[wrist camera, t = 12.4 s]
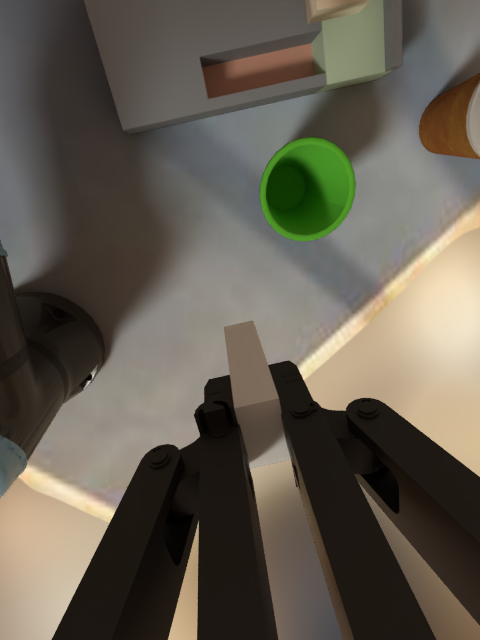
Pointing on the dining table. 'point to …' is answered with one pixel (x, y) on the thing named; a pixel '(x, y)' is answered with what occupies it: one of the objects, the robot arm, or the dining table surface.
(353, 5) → the block
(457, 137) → the disposable coffee cup
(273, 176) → the cup
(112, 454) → the dining table surface
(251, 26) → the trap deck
